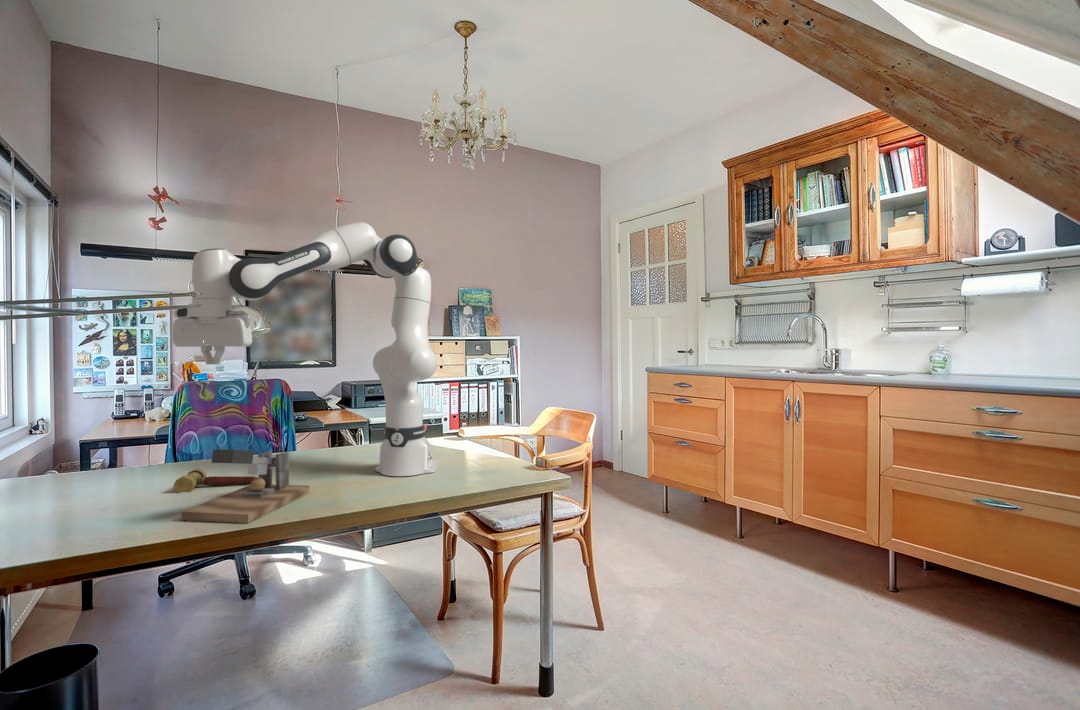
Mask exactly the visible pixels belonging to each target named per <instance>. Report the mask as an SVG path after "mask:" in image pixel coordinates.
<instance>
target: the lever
mask: <svg viewBox="0 0 1080 710" xmlns="http://www.w3.org/2000/svg"><path fill="white" fill-rule="evenodd" d="M254 452H255V450H246V449H245V450H243V449H216V448H215V449H213V450H212V456H211V457H212V458H211V464H236V465H237V464H240V465H241V464H243V465H244V464H245V465H246V464H248V468H247V475H255V476H256V475H259V474H267V468H268V466H272V467H274V468H276V455H277V454H275V455H268V456H266V457H258V456H254Z"/></svg>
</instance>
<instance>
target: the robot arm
mask: <svg viewBox="0 0 1080 710" xmlns="http://www.w3.org/2000/svg"><path fill="white" fill-rule="evenodd" d="M192 260H193V261H192V264H191V265H192V268H191V283H192V287H193V293H194V292H197V293H202V294H197V295H198V296H196V297H193V296H192V297H191V300H192V301H191V303H189V304H187V305H185V306H194V305H197V304H198V303H199V304H201V303H202V302H203V301H204V300H205V301H204V302H203V304H202V305H201V306H200V307H194V308H183V309H178V308H176V309H174V310H173V317H174V318H176V319H175V320H174V321H173V324H172V342H173V344H174V346H175V347H176V348H177V347H179V348H182V347H183V348H185V347H187V348H188V347H189V348H191V347H192V348H193V347H194V348H195V347H196V348H197V347H200V352H201V353H202V355H203V357H204V358H205V365H221V358H222V356H223V355H224V354H225V351H226V349H225V347H233V348H234V347H236V348H237V347H241V348H242V347H250V346H251V345H252V344H253V335H252V334H253V333H252V328H251V327H252V326H251V317H250V314H248V313H246V312H245V311H243V310H239V311H236V310H233V298H238V299H242V300H245V301H250V302H251V301H257V300H260V299H262V298H264V297H265V296H266V295H268V294H269V293H270V292H272V290H273V289H274V288H275V287H276V286H277V285H278V284H279V283H280V282H281V283H282V282H283V281H284V280H288V279H289V278H292V277H295V276H297V275H300V274H302V273H306V272H308V271H312V270H321V271H324V272H329V271H334V270H338V269H339V270H340V269H341V268H344V267H348V266H350V265H352V264H355V263H357V262H360V261H363V262H364V263H365V264H366V266H367V267H368V268H369V269H370V270H371V272H372V273H374V274H375V275H376V276H377V277H380V278H383V279H391V278H392V279H393V280H394V283H395V293H394V297H393V299H394V300H393V305H392V307H393V308H392V313H391V321H390V323H391V327H392V328H393V329H394V332H395V339H396V345H388V346H386V347H383V348H380V349H379V350H378V351H376V353H375V354H374V356H373V360H372V367H373V369H374V372H375V373H376V374H377V376H378V378H379V381H380V384H381V385H380V386H381V388H382V392H383V396H384V402H385V403H384V405H385V426H384V429H383V435H384V436H383V438H384V441H383V442H382V443H381V444H380V450H379V463H378V464H379V465H378V466H376V467H375V470H374V471H375V472H378V473H380V474H381V475H384V476H387V477H410V476H417V475H423V474H430V473H435V471H436V470H437V467H438V466H439V465H440V459H437V458H434V457H433V446H432V444H431V443H430V441H428V439H427V438H426V437H425V436H426V431H427V429H428V428H427V424H426V423H424V422H423V420H424V417H423V415H424V414H423V411H424V409H423V405H424V404H423V399H422V398H421V396H420V394H419V393H418V391H417V388H416V385H415V382H421V381H424V380H428V379H430V378H431V377H432V376H433V375H434V374H435V373H436V371H437V366H438V361H437V357H436V354H435V353H434V352H433V350H432V348H431V345H430V339H429V329H428V328H429V318H430V310H431V301H432V300H431V299H432V277H431V274H430V272H429V271H428V270H427V269H425V268H423V267H420V266H419V265H420V260H419V257H418V255H417V250H416V247H415V244H414V242H413V241H412V239H410V238H409V237H407V236H405V235H403V234H398V233H397V234H391V235H390V234H389V235H388V236H386V237H385V238H381V237H380V236H378V235H377V233H376V230H375V229H374V228H373V227H372V226H371V225H370V224H368V223H367V222H363V221H359V222H358V221H357V222H353V223H348V224H345V225H340V226H336V227H333V228H330V229H328V230H326V231H324V232H322V233H319V234H318V235H316V236H315V237H313V238H312V239H310V240H308V241H307V242H306V243H305V244H303V245H301V246H299V247H297V248H295V249H291V250H289V251H286V252H284V253H281V254H278V255H275V256H272V257H268V258H267V257H266V258H261V257H260V258H259V257H247V258H243V259H241V258H239V257H237V256H236V255H234V254H232V253H231V252H229V250H227V249H225V248H207V249H202V250H200V251H198V252H196V253H195V254H194V257H193V259H192ZM203 340H204V343H205V344H204V343H203ZM206 344H209V345H206ZM212 351H214V352H215V353H214V355H212V353H211V352H212ZM423 423H424V424H423Z"/></svg>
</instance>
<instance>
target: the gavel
mask: <svg viewBox="0 0 1080 710" xmlns="http://www.w3.org/2000/svg"><path fill="white" fill-rule="evenodd" d="M256 478H258V477H257V476H231V475H230V476H228V475H227V476H225V475H224V476H219V475H218V476H207V474H206V471H204V470H203V469H200V468H195V469H192V470H191V471H189V472H188V473H186V475H183V476H180V477H178V478H177V479H176V480H175V481H174V483H173V488H174V491H175V492H176V493H177V494H181V493H180V492H188V493H191V492H192V491H193V490H194V489H195V488H196V487H197V486H209V487H221V486H222V487H229V486H228V485H239V486H248V485H247V484H251V482H252V481H253V480H254V479H256Z"/></svg>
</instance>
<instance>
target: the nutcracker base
mask: <svg viewBox="0 0 1080 710" xmlns="http://www.w3.org/2000/svg"><path fill="white" fill-rule="evenodd" d="M272 454H273V453H272V451H266V452H262V453H258V454H257V455H258V456H257V457H266V456H268V455H272ZM275 455H276V467H275V484H273V466H268V468H267V474H259V475H258V477H257V478H256V479H254V480H253V481H252V482H251V485H246V486H244V487H242V488H239V489H236V490H234V491H231V492H229V493H226V494H224V495H221V496H219V497H216V498H213V499H211V500H208V501H206V502H202V503H201V504H198V505H195V506H193V507H190V508H188V509H185V510H182V511H181V521H182V520H186V521H185V522H201V521H214V522H213V523H225V522H238V523H237V524H250V523H252V522H254V521H256V520H257V519H256V518H258V517H260V516H262V515H264V516H266V515H267V514H266V513H268V512H270V511H272V512H274V511H275V510H274V509H276V508H278V507H281V506H283V505H285V504H287V503H289V502H291V501H293V500H295V499H297V498H299V497H301V496H303V495H305V496H307V495H308V493H309V494H310V485H303V484H302V485H299V484H290V474H289V473H290V465H289V463H290V462H289V461H290V459H289V457H290V453H289V451H283V452H281V453H277V454H275ZM306 494H307V495H306ZM303 497H304V496H303ZM301 498H302V497H301ZM299 499H300V498H299ZM297 500H298V499H297ZM295 501H296V500H295ZM293 502H294V501H293ZM291 503H292V502H291ZM289 504H290V503H289ZM287 505H288V504H287ZM285 506H286V505H285ZM283 507H284V506H283ZM281 508H282V507H281ZM278 509H279V508H278ZM273 510H274V511H273ZM276 510H277V509H276ZM270 513H271V512H270ZM265 514H266V515H265ZM268 514H269V513H268ZM262 517H263V516H262ZM260 518H261V517H260ZM255 519H256V520H255ZM258 519H259V518H258ZM253 520H254V521H253ZM215 521H216V522H215ZM251 521H252V522H251ZM249 522H250V523H249Z"/></svg>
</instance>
